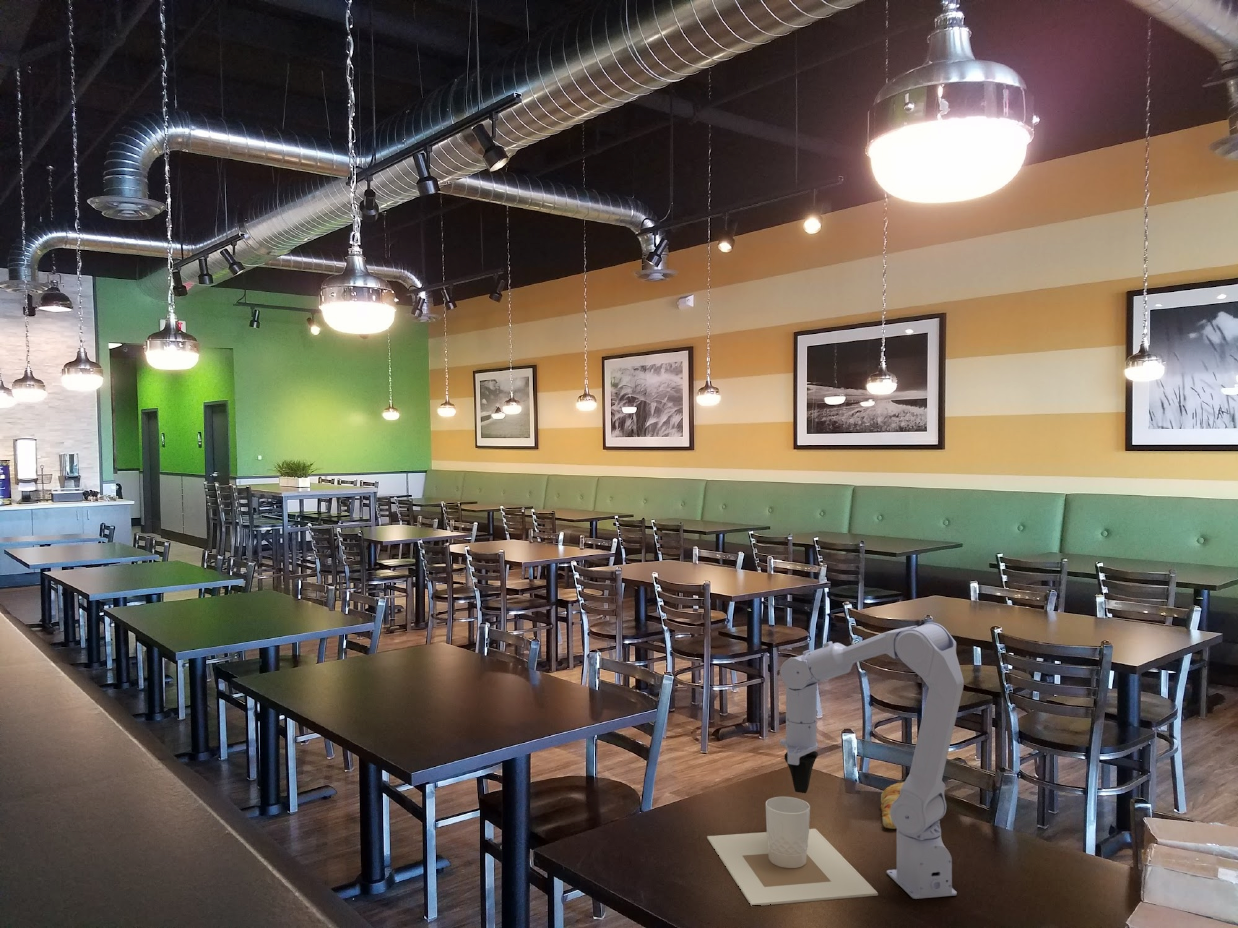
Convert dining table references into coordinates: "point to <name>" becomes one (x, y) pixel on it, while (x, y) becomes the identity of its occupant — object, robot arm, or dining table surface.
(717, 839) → the placemat
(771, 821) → the white cup
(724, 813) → the dining table surface
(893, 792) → the croissant
